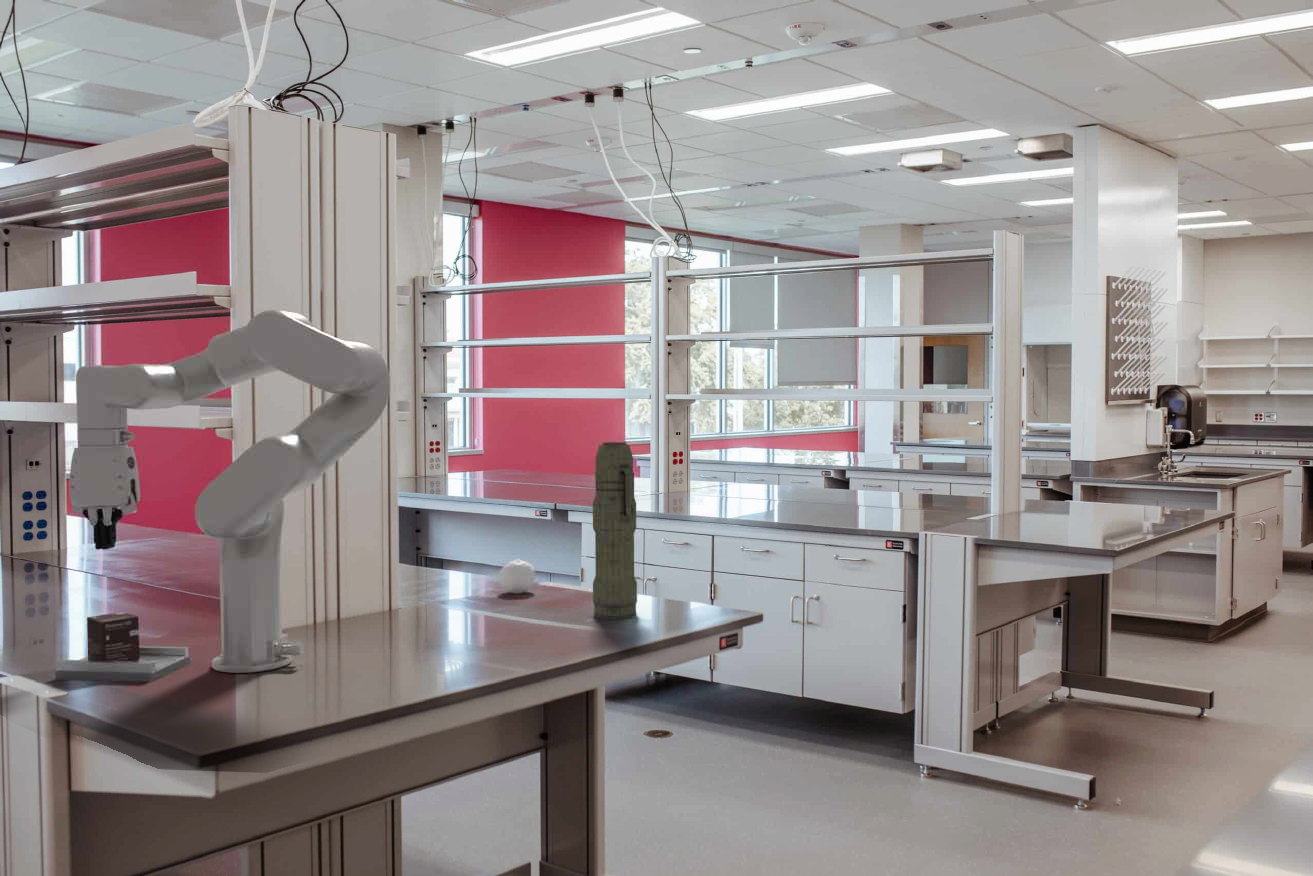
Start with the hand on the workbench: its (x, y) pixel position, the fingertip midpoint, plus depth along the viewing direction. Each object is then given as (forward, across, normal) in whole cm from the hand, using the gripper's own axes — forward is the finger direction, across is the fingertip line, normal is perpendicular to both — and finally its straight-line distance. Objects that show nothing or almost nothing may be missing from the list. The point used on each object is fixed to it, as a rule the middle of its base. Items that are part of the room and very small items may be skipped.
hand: (105, 548), depth 185 cm
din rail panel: (+20, -6, +5) cm, 21 cm away
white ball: (+20, -58, -65) cm, 89 cm away
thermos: (+19, -82, -43) cm, 94 cm away
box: (+18, -4, +5) cm, 19 cm away
